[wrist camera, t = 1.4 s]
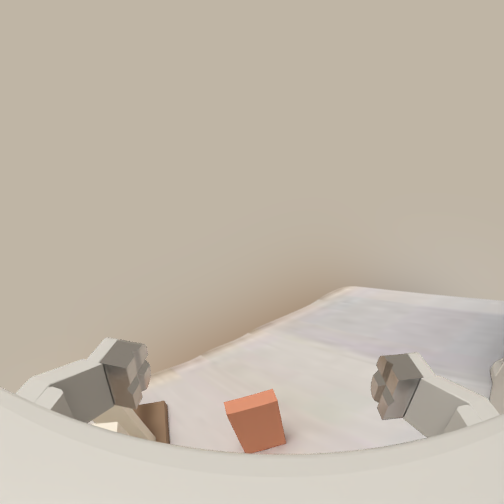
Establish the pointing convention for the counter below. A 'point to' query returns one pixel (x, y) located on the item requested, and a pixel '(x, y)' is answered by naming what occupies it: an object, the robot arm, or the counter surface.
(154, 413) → the walnut board
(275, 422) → the rust tile
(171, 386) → the counter surface
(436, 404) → the robot arm
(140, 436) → the ivory tile
